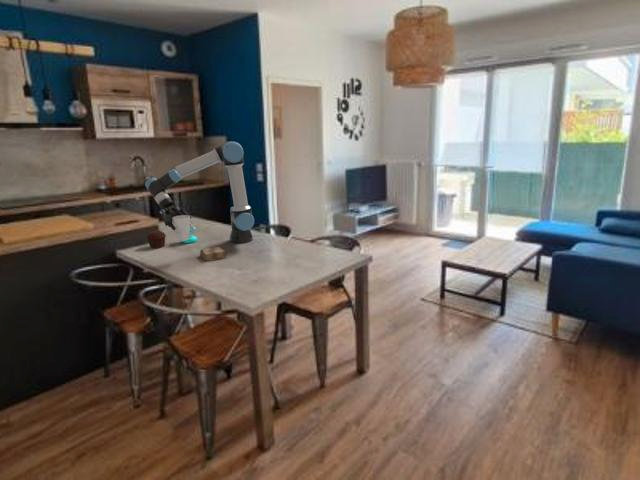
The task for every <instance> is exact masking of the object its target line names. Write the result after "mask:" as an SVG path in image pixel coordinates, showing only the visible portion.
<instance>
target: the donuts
mask: <svg viewBox="0 0 640 480" xmlns="http://www.w3.org/2000/svg"><path fill="white" fill-rule="evenodd" d="M196 230H197V228H196V227H195V229H194V230H193V231H191V229H190V234H191V233H194V232H196ZM190 234H189V240H186V241H181V243H183V244H192V243H193V244H194V243H196V242H197V240H198V237H196V235H193V234H192V235H190Z"/></svg>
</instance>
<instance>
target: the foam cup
mask: <svg viewBox="0 0 640 480" xmlns="http://www.w3.org/2000/svg"><path fill="white" fill-rule="evenodd" d="M190 216H191V215H190ZM190 216H188V215H180V216H176V215H174V216H172V224H173V223H174V224H175V225H176V226H177V228H178V229H179V231H180V234H179V235H177V234H176V233H175V234H176V239H177V241H178V242H182V241H186V240H189V235H190V234H191V233H190V221H191V219H190Z"/></svg>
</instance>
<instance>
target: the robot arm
mask: <svg viewBox="0 0 640 480" xmlns="http://www.w3.org/2000/svg"><path fill="white" fill-rule="evenodd" d="M244 154H245V153H244V148H243V146H242V145H241V144H240V143H238V142H236V141H230V140H229V141H226V142H223V143H221V144H220V145H218V146H217V147H214V148H213V149H212V150H211V151H209V152H207V153H205V154H203V155H200V156H198V157H195V158H193V159H190V160H188V161H186V162H184V163H182V164H179V165H177V166H175V167H173V168H171V169H166V170H164V172H163V174H162V176H160V177H158V178H156V177H150V178H148V179H147V180H146V181H145V183H144V185H145V188H146V190H147V191H148V192H149V194H150V195H151V196H152V198H153V199H154V201H155V203H157V204H158V206H159V208H160V211H159V212H158V213H159V214H160V216H161V218H162V220H163V222H164V225H165V227H168V228H171V230H172V231H174V232H175V234H177V235H179V234H180V231H179V229H178V228H177V226H176V225H175V224H174V223H173V220H172V217H173V215H174V216H180V215H188V216H190V229H191V231H193V230H194V229H195V228H196V227H195V226H194V225H193V222H192V221H191V219H192V216H191V215H190V214H189V213H188V212H187V211H186V210H184V208H183V207H182V205H178V206H176V205H175V203H174V201H173V200H172V198H171V197H170V196H169V194H168V193H167V190H168V189H169V188H171V187H172V186H174V185H175V184H177V183H179V182H180V181H182V179H183V178H185V177H188V176H190V175H192V174H195V173H197V172H199V171H202V170H204V169H206V168H208V167H210V166H213V165H215V164H217V163H220V164H222V163H223V165H224V167H225V168H226V169H227V173H228V177H229V184H230V190H231V194H232V195H231V196H232V201H233V206H231V207H230V225H231V230H230V236H229V242H230V243H233V244H241V243H242V244H243V243H248V242H252V241H253V240H254V237H253V234H252V231H251V229H252V228H253V226H254V224H255V217H254V216H253V212H252V207H251V206H250V205H249V203H248V196H247V189H246V185H245V178H244V177H245V176H244V171H243V170H244V169H243V165H244V164H245V161H244ZM177 235H176V236H177Z"/></svg>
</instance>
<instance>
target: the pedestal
mask: <svg viewBox="0 0 640 480" xmlns="http://www.w3.org/2000/svg"><path fill="white" fill-rule="evenodd" d="M199 250H200V249H199ZM199 253H200V257H201V258H202V259H203V260H204V261H205V262H208V261H209V262H210V261H216V260H222V259H226V258H227V252H226V251H225V250H224V249H223V248H222V247H220V246H216V247H215V246H214V247H209V248H208V247H207V248H201V250H200V251H199Z"/></svg>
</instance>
